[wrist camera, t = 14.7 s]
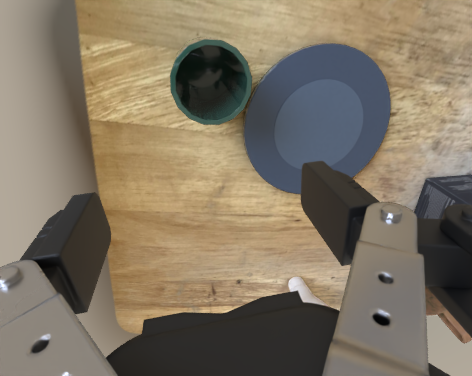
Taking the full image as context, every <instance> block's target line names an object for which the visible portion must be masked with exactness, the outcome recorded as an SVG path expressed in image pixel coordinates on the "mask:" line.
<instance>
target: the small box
mask: <svg viewBox="0 0 472 376" xmlns="http://www.w3.org/2000/svg"><path fill="white" fill-rule="evenodd" d="M454 204H466V205H472V175H463V176H450V177H437V178H427V179H426V182H425V184H424V187H423V190H422V193H421V195H420V198H419V201H418V204H417V206H416V209H415V212H414V213H415V214H416V216H417V218H430V219H442V217H443V214H444V210H445V208H446V207H448V206H450V205H454Z"/></svg>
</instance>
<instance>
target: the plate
mask: <svg viewBox="0 0 472 376" xmlns="http://www.w3.org/2000/svg"><path fill="white" fill-rule="evenodd" d="M390 110H391V103H390V93H389V89H388V85H387V82H386V79H385V77H384V75H383V73H382V71H381V70H380V68H379V67H378V65H377V64H376V63H375V62H374V61H373V60H372V59H371V58H370V57H368V56H367V55H366V54H365V53H363V52H361V51H359V50H357V49H355V48H353V47H350V46H347V45H341V44H334V43H322V44H316V45H310V46H307V47H304V48H301V49H299V50H297V51H294V52H292V53H290V54H289V55H287V56H286V57H284V58H283V59H281V60H280V61H279V62H277V63H276V64H275V65H274V66H273V67H271V69H270V70H269V71H268V72H267V73H266V74H265V75H264V76H263V78H262V79H261V80H260V82H259V83H258V84H257V86H256V88H255V90H254V91H253V93H252V95H251V98H250V100H249V103H248V105H247V109H246V112H245V117H244V124H243V136H244V144H245V148H246V152H247V155H248V157H249V159H250V161H251V163H252V165H253V167H254V168H255V170H256V171H257V172H258V174H259V175H260V176H261V177H262V178H263V179H264V180H265V181H267V182H268V183H269V184H271V185H272V186H274V187H276V188H278V189H280V190H283V191H286V192H290V193H296V194H301V175H302V165H303V164H304V163H308V162H315V161H324V162H325V163H326V164H327V165H328V166H329V167H331V168H332V169H333V170H334V171H335V170H337V171H340V172H342V173H344V174H347V175H348V176H350V177H351V178H352V177H354V176H355V175H356V174H357V173H358V172H360V171H361V170H362V169H363V168H364V167H365V166H366V165H367V164H368V163H369V161H370V160H371V159H372V157H373V156H374V155H375V153H376V152H377V150H378V148H379V147H380V145H381V143H382V141H383V139H384V136H385V133H386V130H387V127H388V123H389V118H390Z"/></svg>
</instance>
